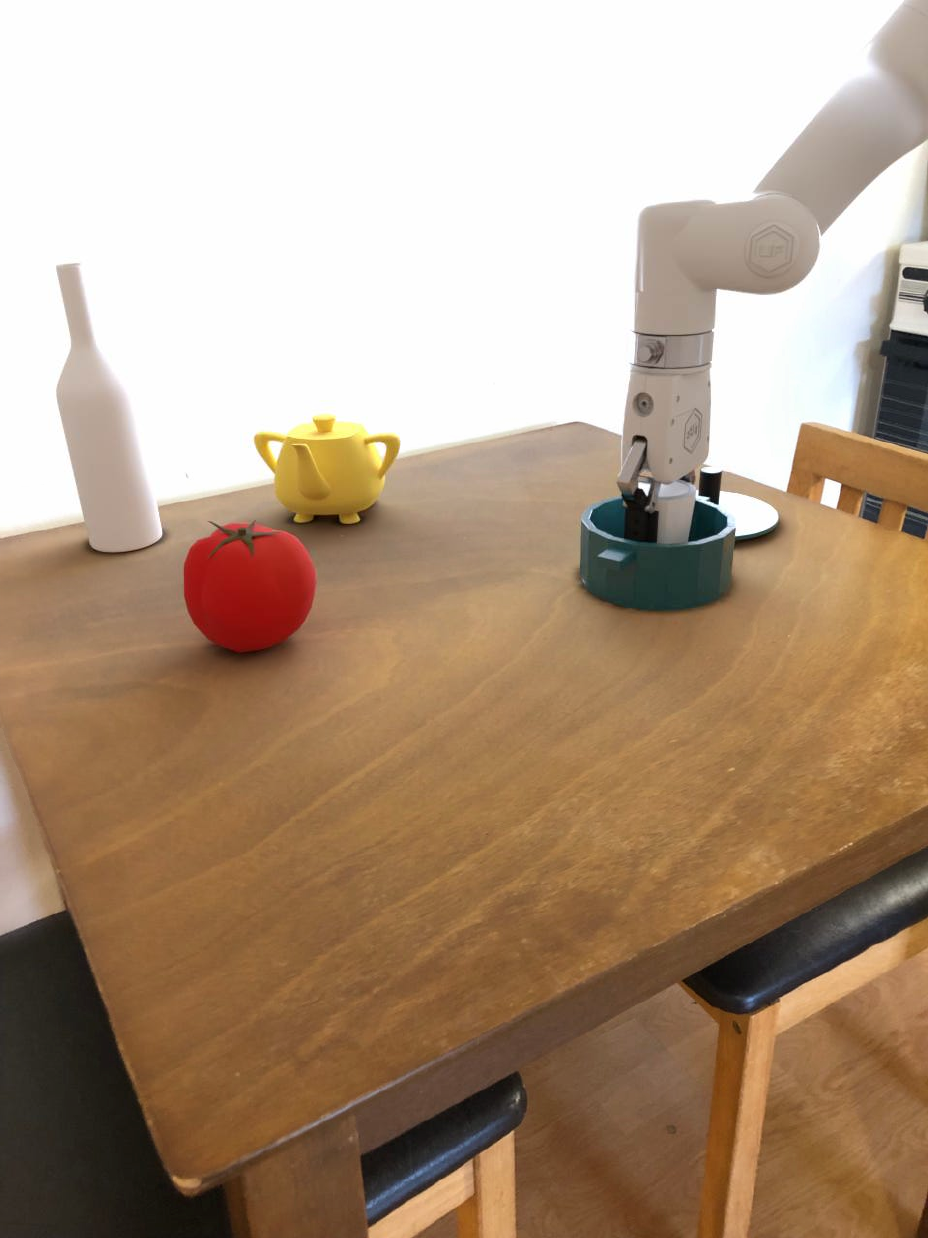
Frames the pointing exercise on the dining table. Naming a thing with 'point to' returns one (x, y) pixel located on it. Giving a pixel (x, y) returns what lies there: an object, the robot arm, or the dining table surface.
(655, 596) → the pot
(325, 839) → the dining table surface
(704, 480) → the lid
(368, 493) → the teapot
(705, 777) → the dining table surface
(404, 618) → the dining table surface
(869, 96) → the robot arm
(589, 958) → the dining table surface
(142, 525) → the bottle
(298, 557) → the tomato
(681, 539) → the white cup
